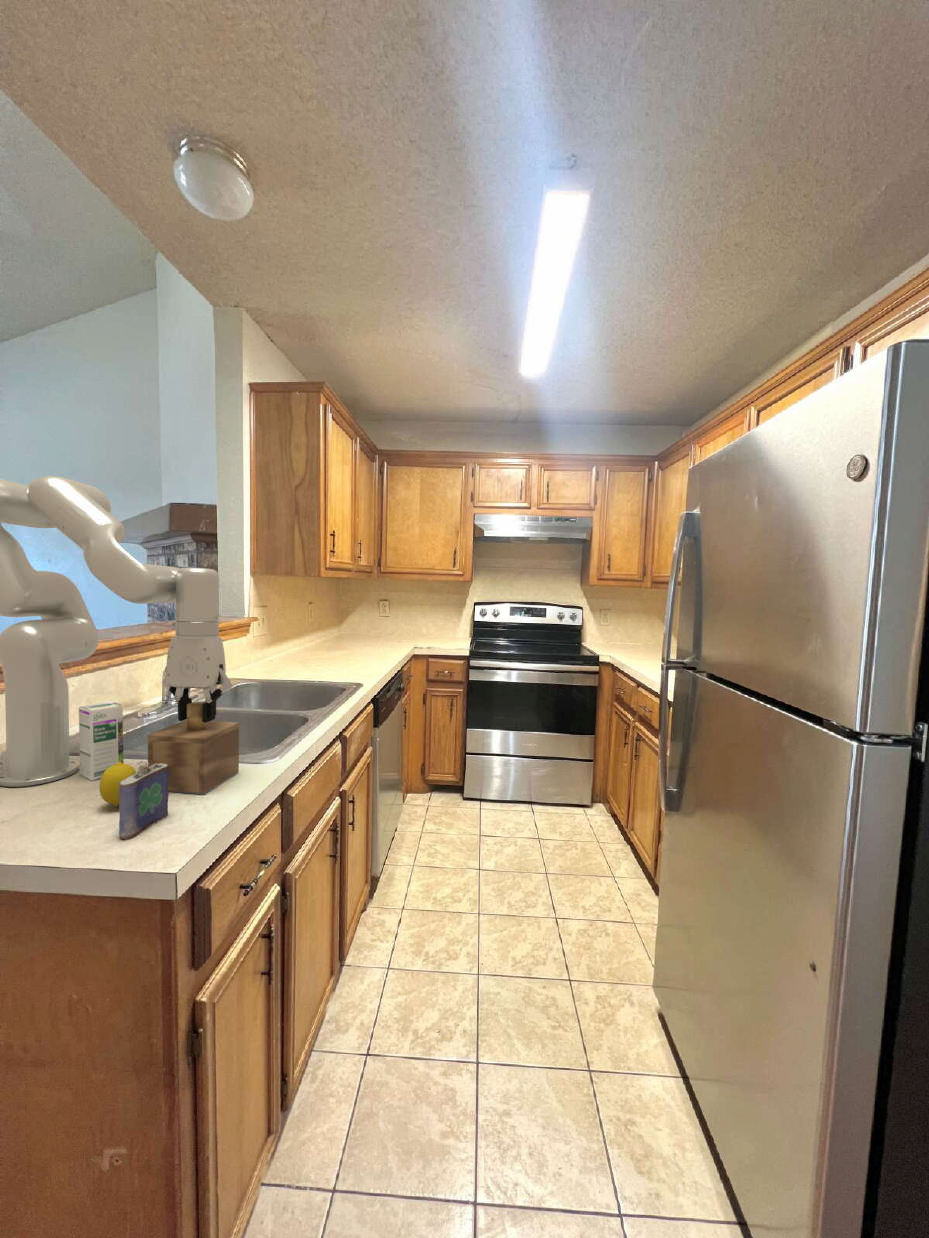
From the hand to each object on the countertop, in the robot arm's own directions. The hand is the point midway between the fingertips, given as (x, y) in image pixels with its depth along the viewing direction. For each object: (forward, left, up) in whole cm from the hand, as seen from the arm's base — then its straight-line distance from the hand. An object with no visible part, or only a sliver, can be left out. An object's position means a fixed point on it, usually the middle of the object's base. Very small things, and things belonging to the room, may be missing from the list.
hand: (197, 719), depth 96 cm
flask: (+3, -18, -13) cm, 22 cm away
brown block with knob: (0, 0, -12) cm, 12 cm away
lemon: (-6, -12, -13) cm, 19 cm away
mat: (0, 0, -13) cm, 13 cm away
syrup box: (-21, 0, -13) cm, 25 cm away
